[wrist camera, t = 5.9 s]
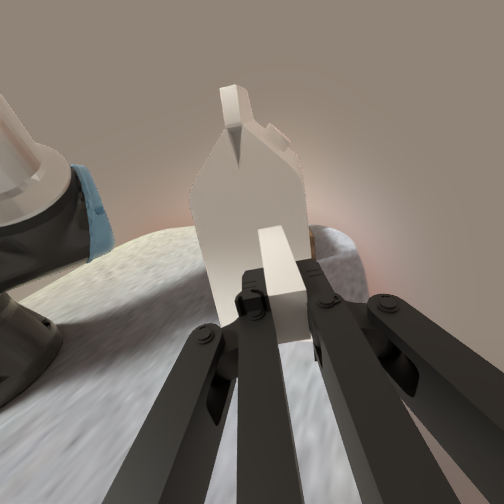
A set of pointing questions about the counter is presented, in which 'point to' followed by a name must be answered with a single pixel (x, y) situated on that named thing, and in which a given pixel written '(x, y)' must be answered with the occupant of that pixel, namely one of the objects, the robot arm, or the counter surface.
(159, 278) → the counter surface
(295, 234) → the milk
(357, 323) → the robot arm
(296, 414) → the counter surface
